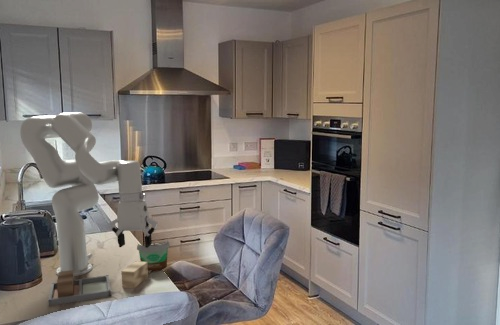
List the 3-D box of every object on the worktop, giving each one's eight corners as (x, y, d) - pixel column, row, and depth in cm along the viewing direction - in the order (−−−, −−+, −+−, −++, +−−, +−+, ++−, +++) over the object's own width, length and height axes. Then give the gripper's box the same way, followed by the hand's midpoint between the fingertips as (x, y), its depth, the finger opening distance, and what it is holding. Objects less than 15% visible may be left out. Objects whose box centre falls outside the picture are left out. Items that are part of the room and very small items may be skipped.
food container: (140, 275, 164) (139, 248, 163) (137, 269, 170) (136, 243, 168) (174, 269, 169) (172, 243, 167) (170, 264, 174) (169, 239, 173)
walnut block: (59, 289, 152) (58, 272, 151) (74, 287, 153) (72, 270, 153) (58, 301, 143) (56, 282, 142) (73, 298, 144) (72, 280, 143)
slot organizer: (52, 288, 153) (51, 283, 153) (108, 280, 159) (108, 275, 159) (48, 306, 140) (48, 300, 139) (110, 296, 146) (110, 290, 145)
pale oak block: (136, 277, 162) (136, 261, 161) (148, 278, 161) (147, 261, 160) (122, 288, 153) (121, 271, 152) (134, 289, 152) (133, 272, 151)
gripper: (159, 194, 155) (162, 243, 157) (113, 195, 158) (117, 242, 160) (150, 199, 148) (154, 250, 150) (102, 199, 151) (106, 249, 153)
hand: (135, 246), depth 155 cm, fingers open, 9 cm apart
